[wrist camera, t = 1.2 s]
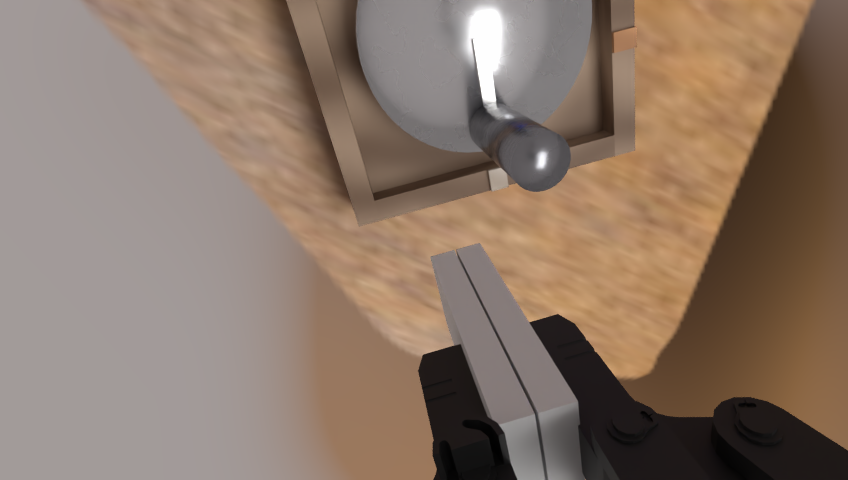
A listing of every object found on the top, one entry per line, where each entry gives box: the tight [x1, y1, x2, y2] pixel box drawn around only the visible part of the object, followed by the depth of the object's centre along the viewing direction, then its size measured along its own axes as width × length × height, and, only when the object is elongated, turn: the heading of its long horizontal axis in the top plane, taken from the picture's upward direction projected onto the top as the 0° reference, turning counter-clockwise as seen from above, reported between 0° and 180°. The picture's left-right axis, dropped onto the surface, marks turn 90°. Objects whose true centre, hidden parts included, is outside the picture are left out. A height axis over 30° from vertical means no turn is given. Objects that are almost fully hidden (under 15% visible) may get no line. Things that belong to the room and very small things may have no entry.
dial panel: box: [286, 0, 637, 226], centre depth 29 cm, size 20×20×4 cm
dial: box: [355, 0, 592, 192], centre depth 24 cm, size 14×14×10 cm
